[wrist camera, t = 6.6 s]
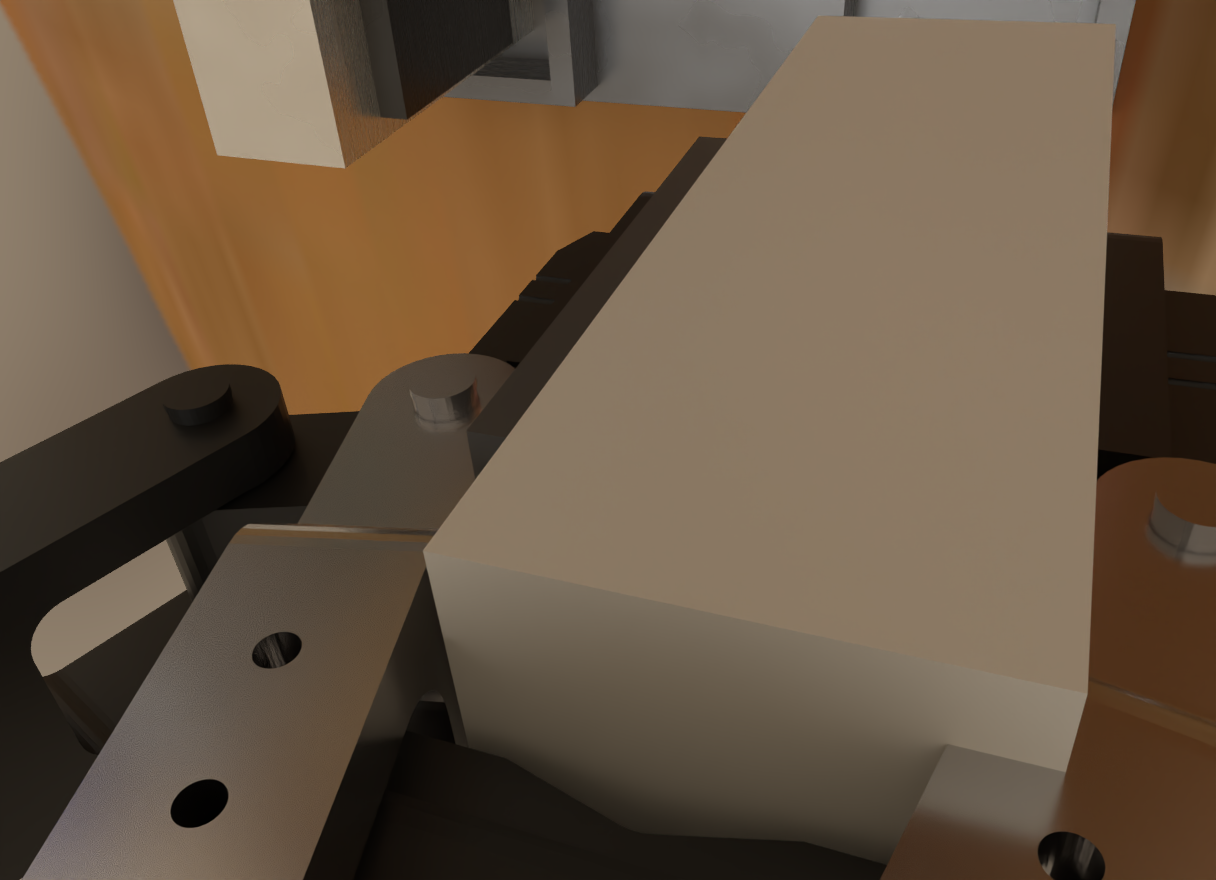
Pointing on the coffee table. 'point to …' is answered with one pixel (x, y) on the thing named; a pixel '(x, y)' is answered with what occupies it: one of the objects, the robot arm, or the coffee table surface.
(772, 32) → the grey boxy piece
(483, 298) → the coffee table surface
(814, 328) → the block
